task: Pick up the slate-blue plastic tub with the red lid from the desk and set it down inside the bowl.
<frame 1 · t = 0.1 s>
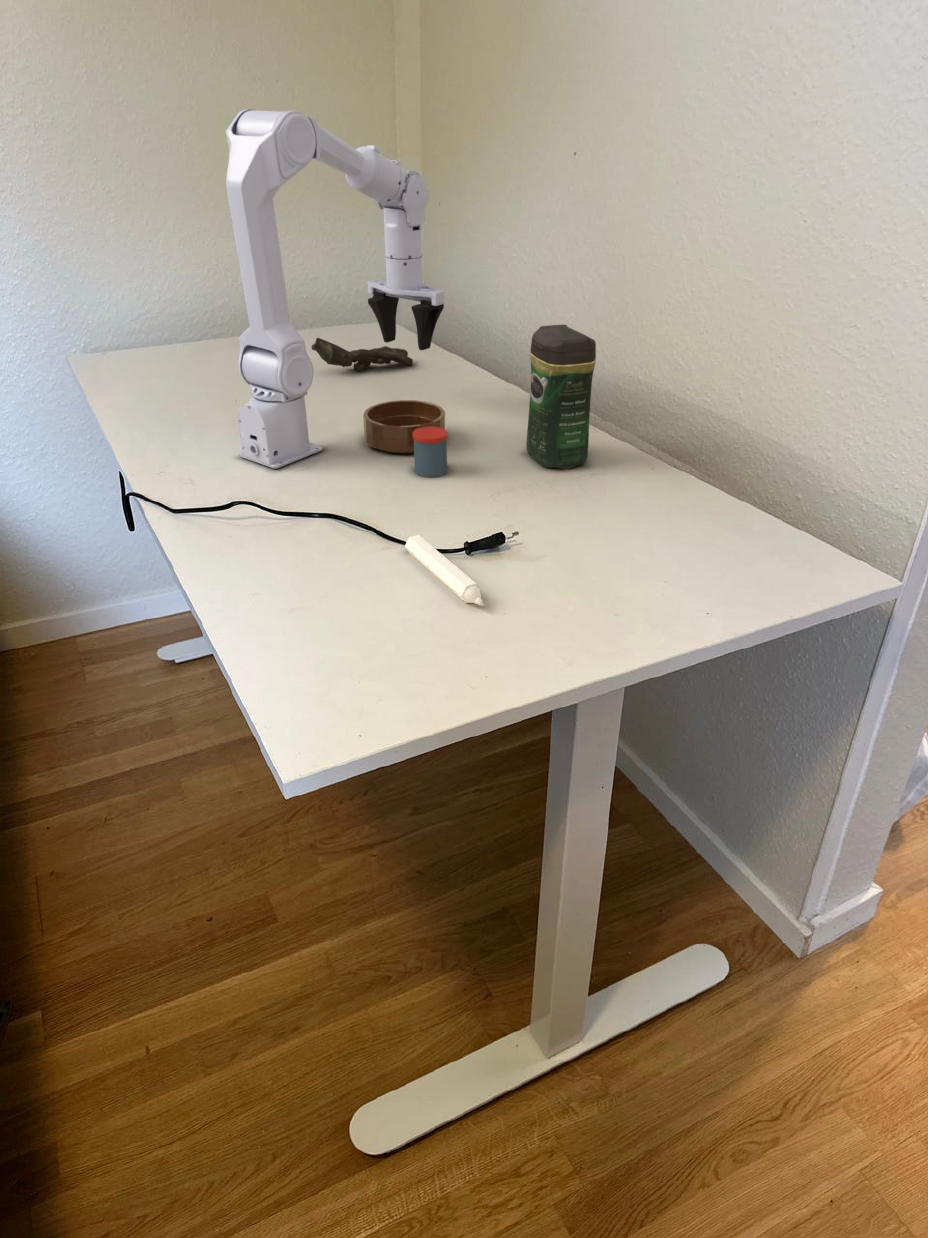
hand: (406, 344, 140), 10 cm above the table, tool pointing down, fingers open, 7 cm apart
bowl: (405, 441, 131), on the table
coffee jar: (556, 459, 125), on the table
container: (430, 470, 121), on the table
brown long irregular piece: (364, 371, 163), on the table
marker: (447, 582, 95), on the table
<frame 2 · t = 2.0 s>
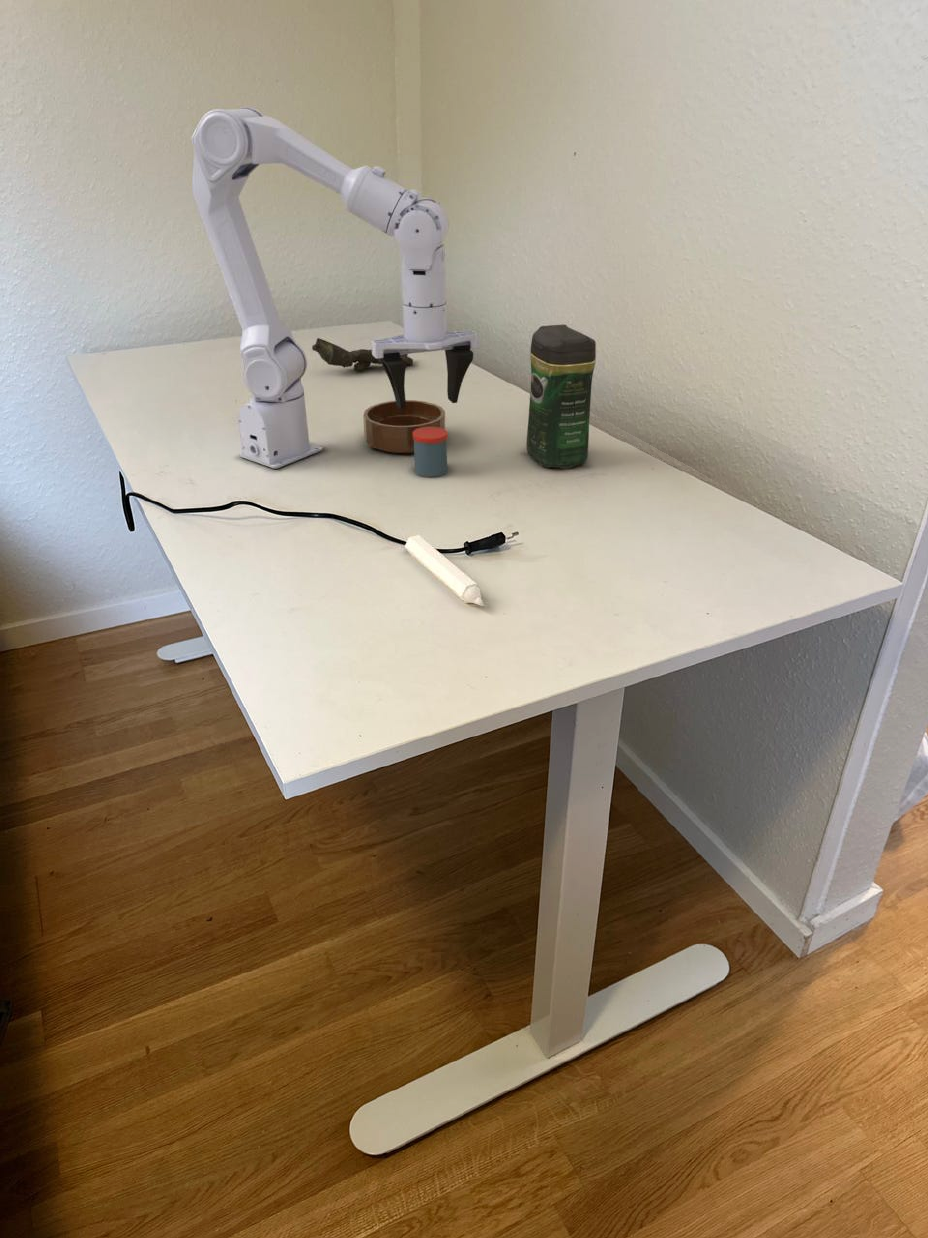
hand: (427, 404, 119), 9 cm above the table, tool pointing down, fingers open, 7 cm apart
nothing on the table moved.
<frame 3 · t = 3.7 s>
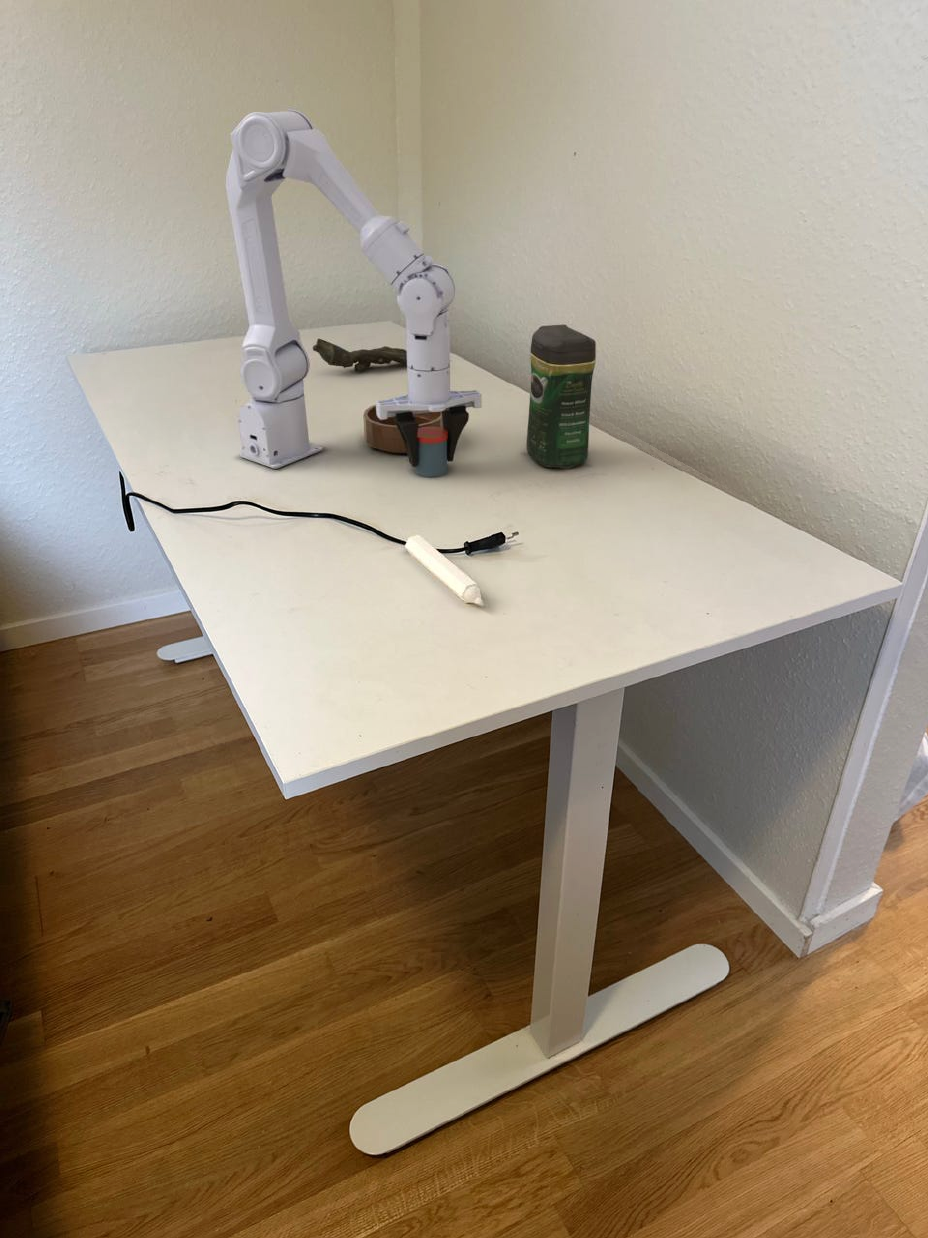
hand: (430, 461, 121), 1 cm above the table, tool pointing down, fingers closed on container, 5 cm apart
container: (431, 470, 121), on the table, touching gripper
everything else where it was.
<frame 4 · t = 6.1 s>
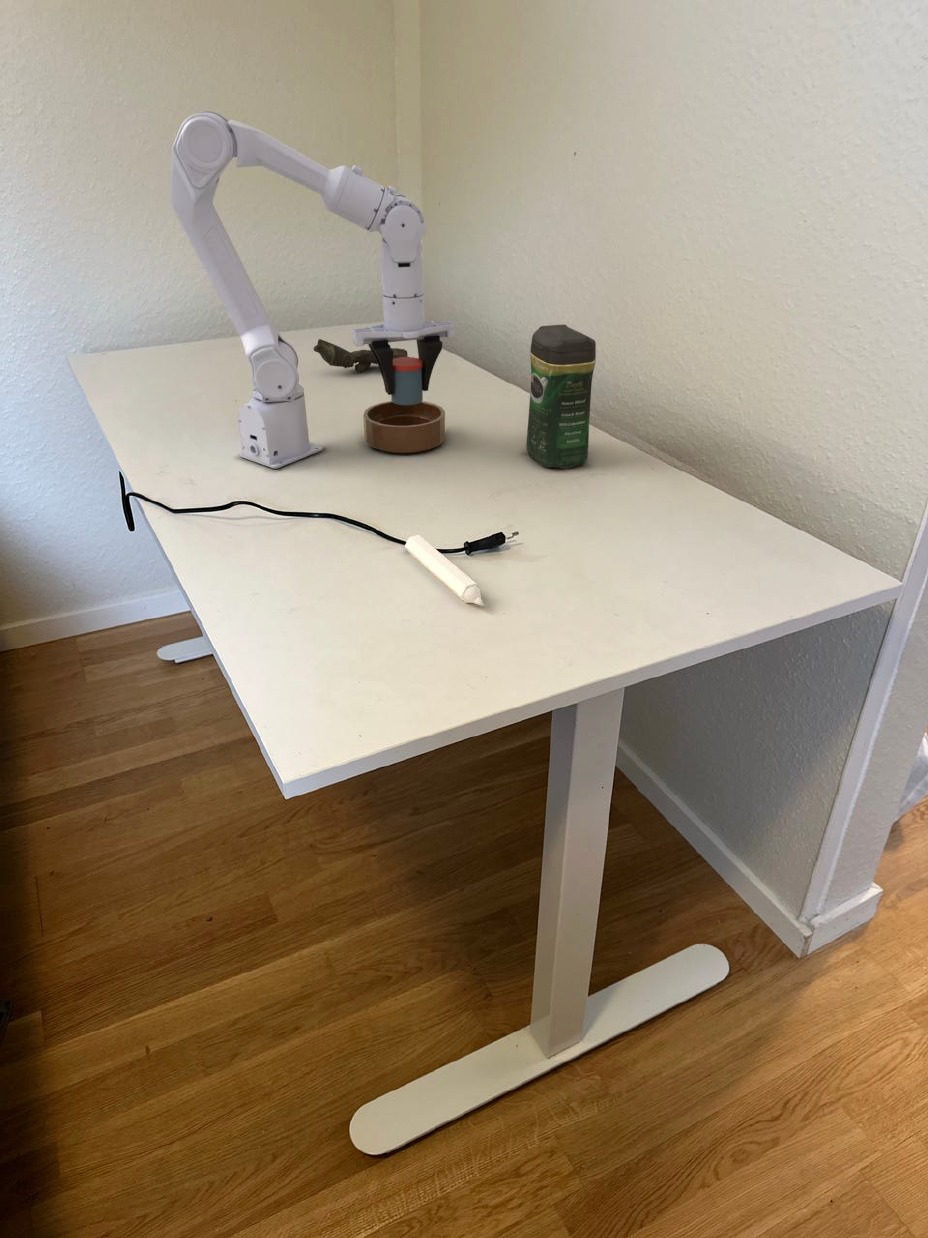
hand: (406, 390, 125), 8 cm above the table, tool pointing down, fingers closed on container, 5 cm apart
container: (407, 400, 126), point 7 cm above the table, touching gripper
everything else where it was.
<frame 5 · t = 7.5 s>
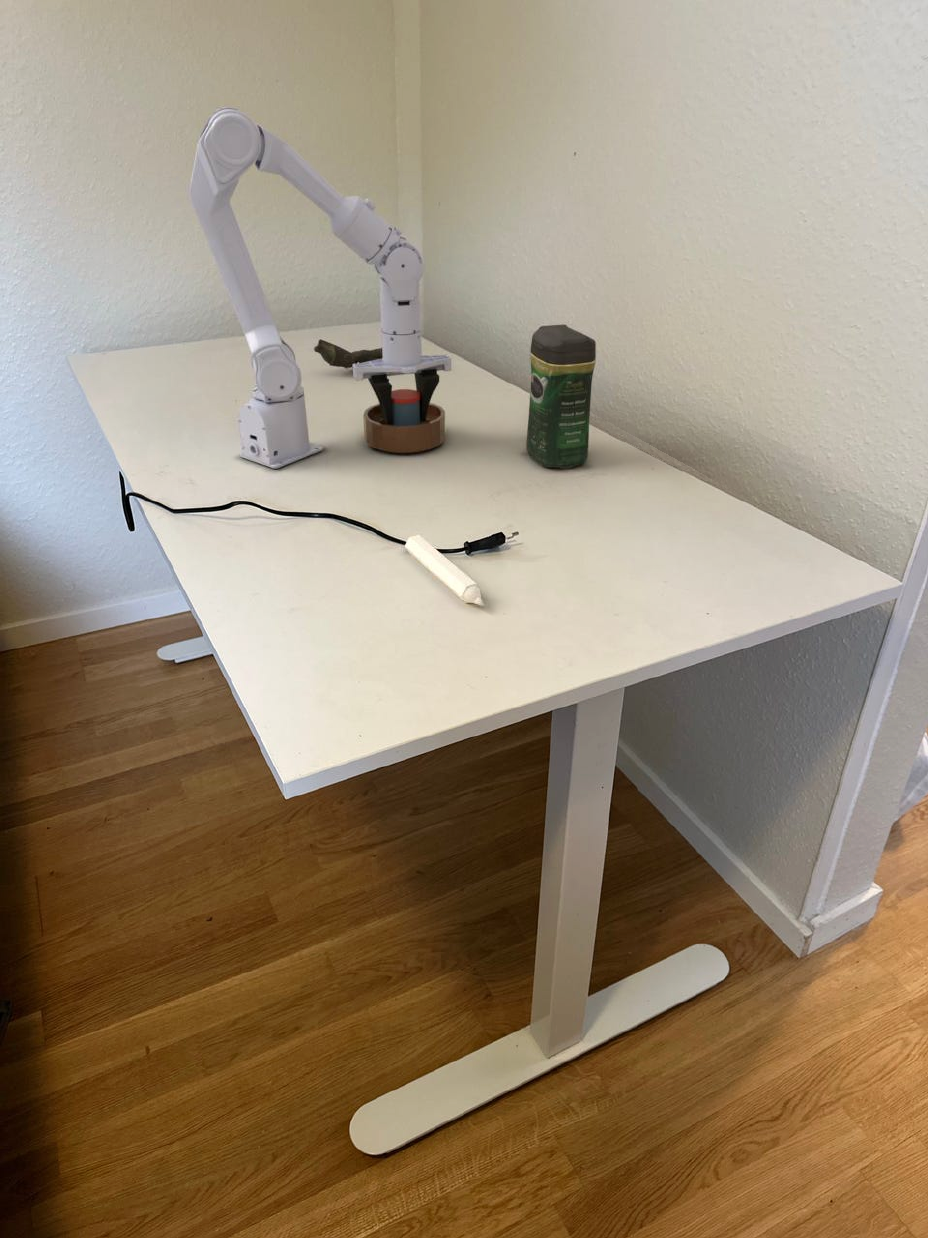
hand: (404, 421, 129), 3 cm above the table, tool pointing down, fingers closed on container, 5 cm apart
container: (405, 430, 130), point 2 cm above the table, touching gripper
everything else where it was.
when the fingers open (2 cm above the table, at t = 8.3 s): container stays where it is, resting on bowl.
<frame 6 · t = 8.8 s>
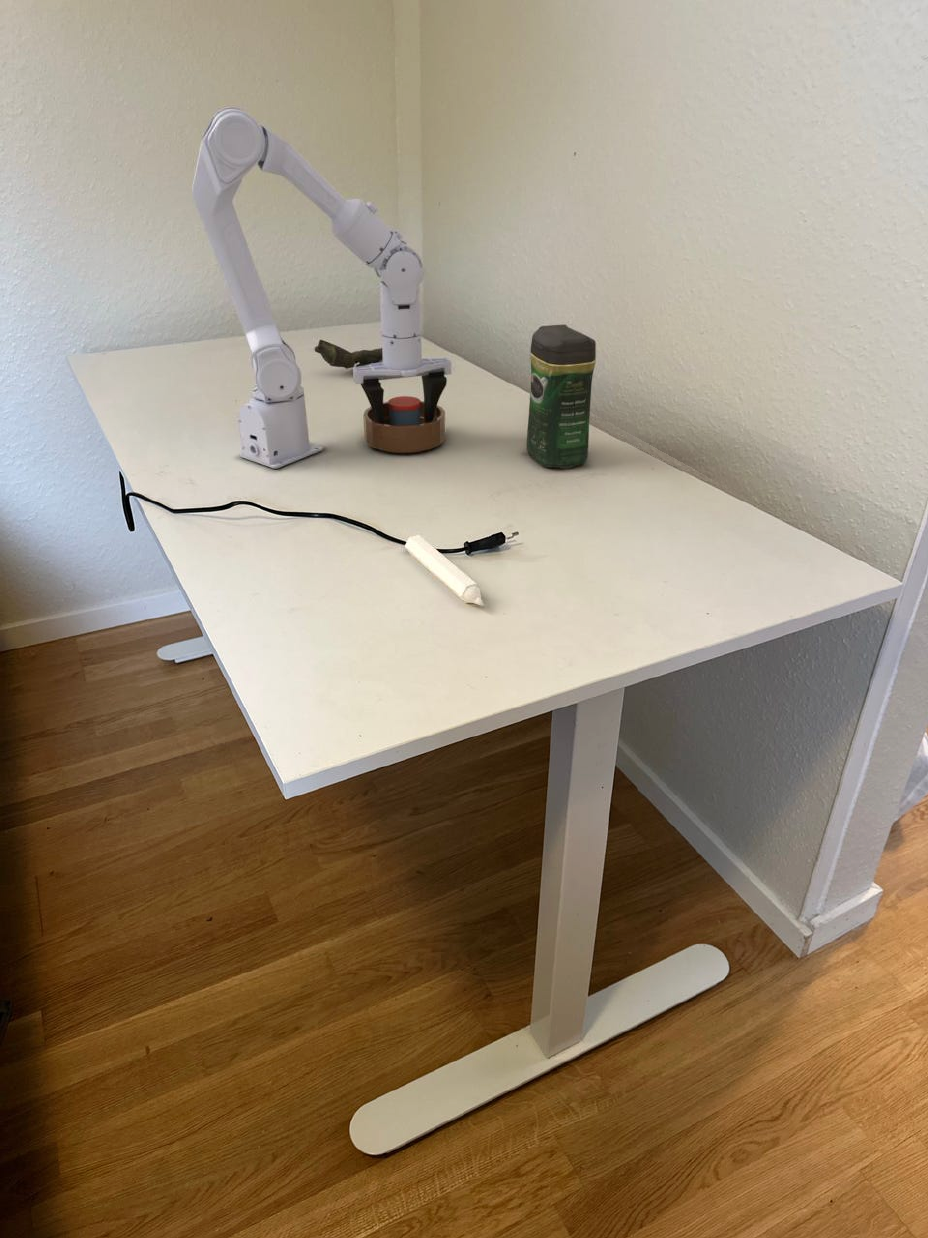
hand: (404, 424, 130), 3 cm above the table, tool pointing down, fingers open, 7 cm apart
container: (405, 437, 131), point 1 cm above the table, touching bowl
everything else where it was.
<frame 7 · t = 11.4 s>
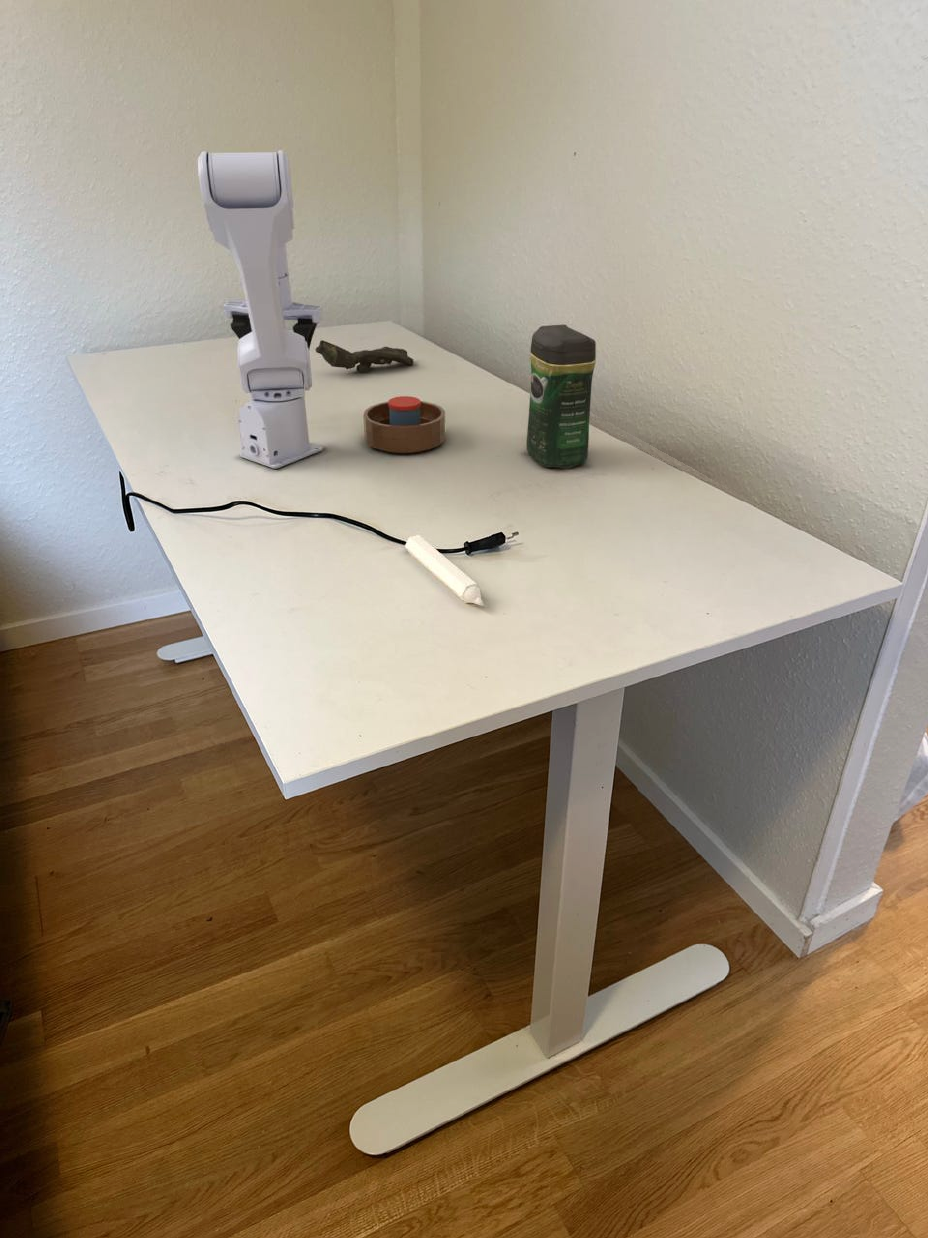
hand: (279, 366, 132), 9 cm above the table, tool pointing down, fingers open, 7 cm apart
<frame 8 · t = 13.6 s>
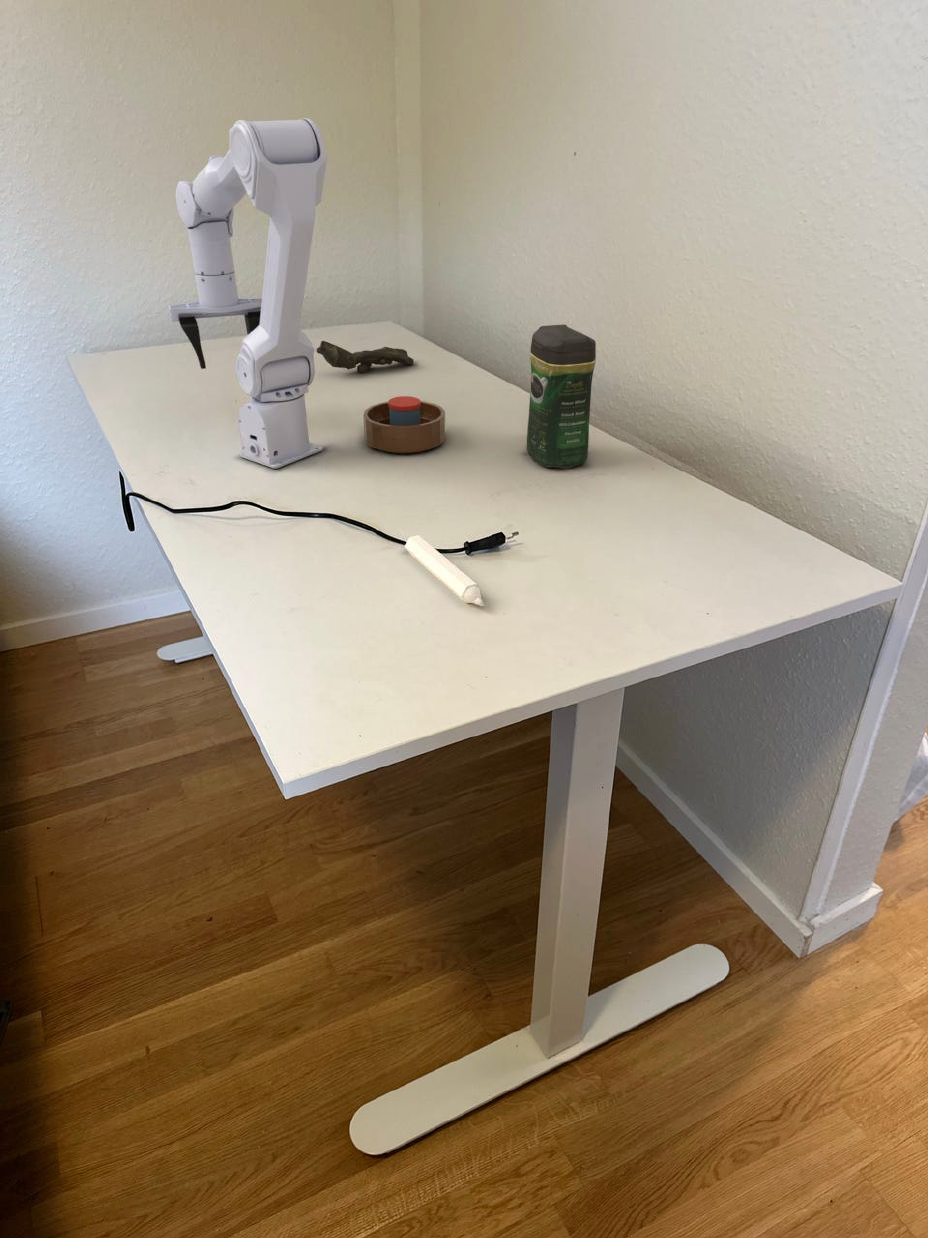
hand: (228, 364, 133), 9 cm above the table, tool pointing down, fingers open, 7 cm apart
at the end: container 0.1 cm off-centre in the bowl, point 0.6 cm above the bowl's base; container tilted 0°; the gripper is holding nothing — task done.
